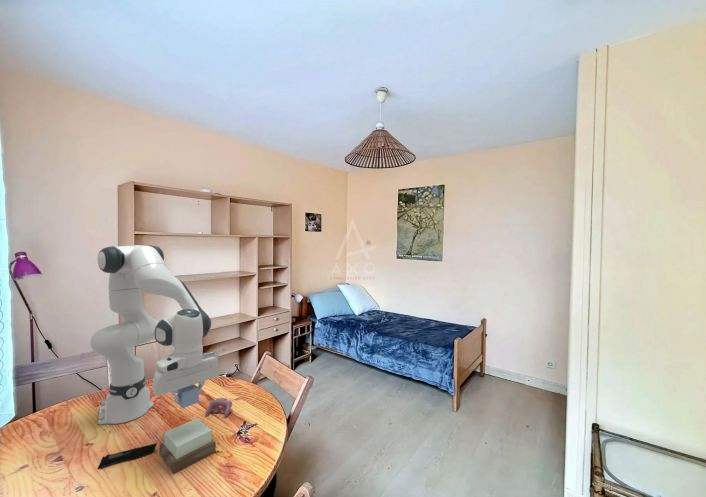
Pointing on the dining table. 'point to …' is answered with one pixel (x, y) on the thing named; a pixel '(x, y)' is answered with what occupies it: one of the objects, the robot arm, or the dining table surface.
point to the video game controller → (219, 402)
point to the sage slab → (187, 438)
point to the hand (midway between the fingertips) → (187, 398)
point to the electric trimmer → (126, 455)
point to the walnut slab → (186, 456)
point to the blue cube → (188, 395)
